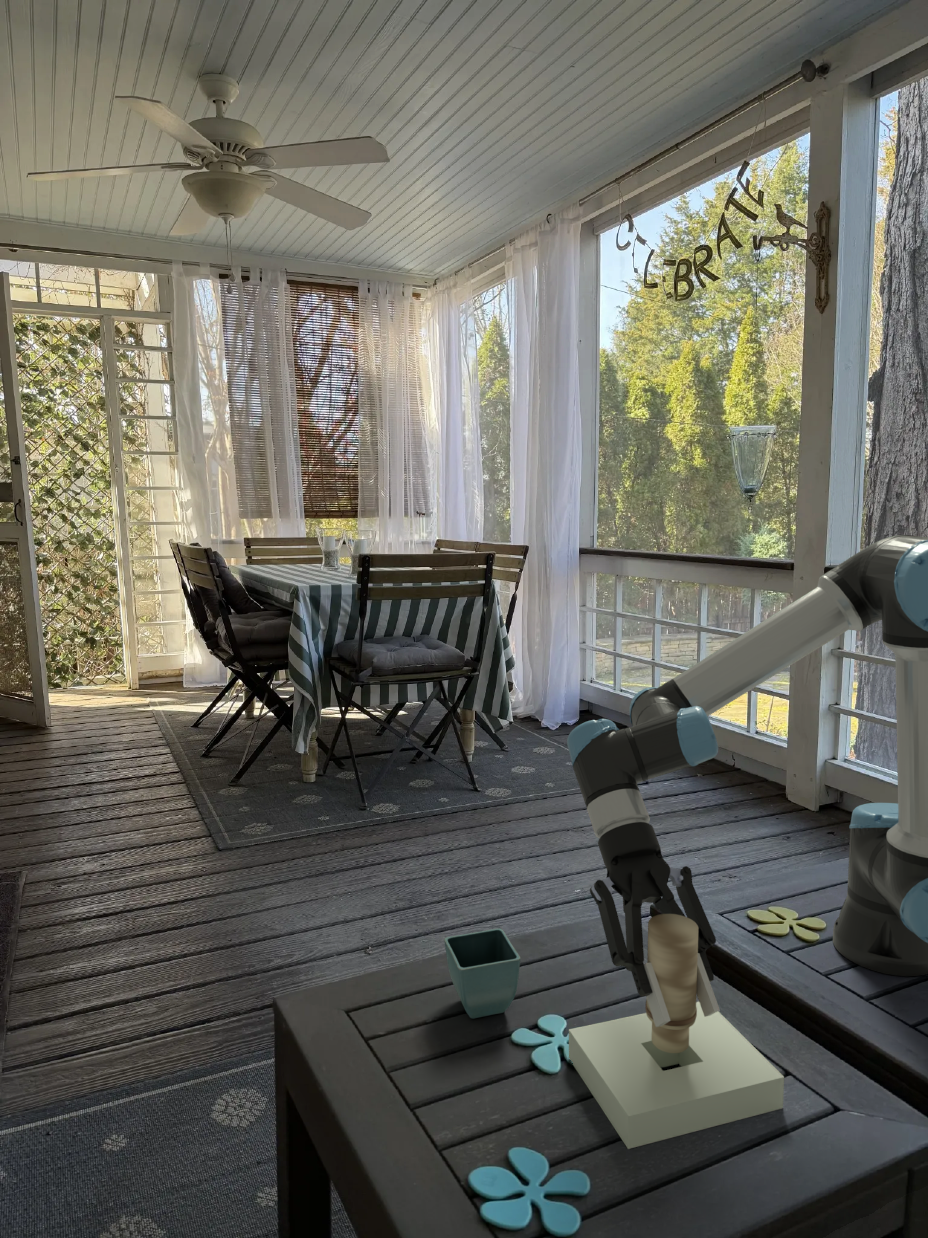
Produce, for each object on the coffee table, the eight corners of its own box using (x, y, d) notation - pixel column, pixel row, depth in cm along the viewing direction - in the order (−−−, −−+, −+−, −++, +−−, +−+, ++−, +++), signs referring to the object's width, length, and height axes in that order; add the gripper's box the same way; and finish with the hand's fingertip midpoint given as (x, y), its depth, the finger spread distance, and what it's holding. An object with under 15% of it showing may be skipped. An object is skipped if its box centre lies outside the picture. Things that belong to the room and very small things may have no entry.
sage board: (706, 1027, 115) (706, 1000, 114) (782, 1108, 100) (784, 1077, 99) (568, 1058, 109) (568, 1029, 108) (628, 1149, 94) (628, 1116, 93)
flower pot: (460, 1031, 115) (459, 969, 114) (444, 995, 123) (443, 936, 122) (522, 1019, 117) (521, 958, 116) (502, 984, 126) (501, 927, 124)
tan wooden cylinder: (678, 1022, 107) (681, 910, 105) (705, 1052, 102) (709, 934, 99) (635, 1031, 106) (638, 917, 103) (660, 1062, 100) (663, 942, 98)
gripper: (676, 834, 118) (743, 1011, 105) (549, 852, 113) (604, 1041, 99) (698, 810, 112) (772, 995, 99) (566, 829, 107) (626, 1027, 94)
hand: (687, 1018), depth 99 cm, fingers closed on tan wooden cylinder, 6 cm apart
